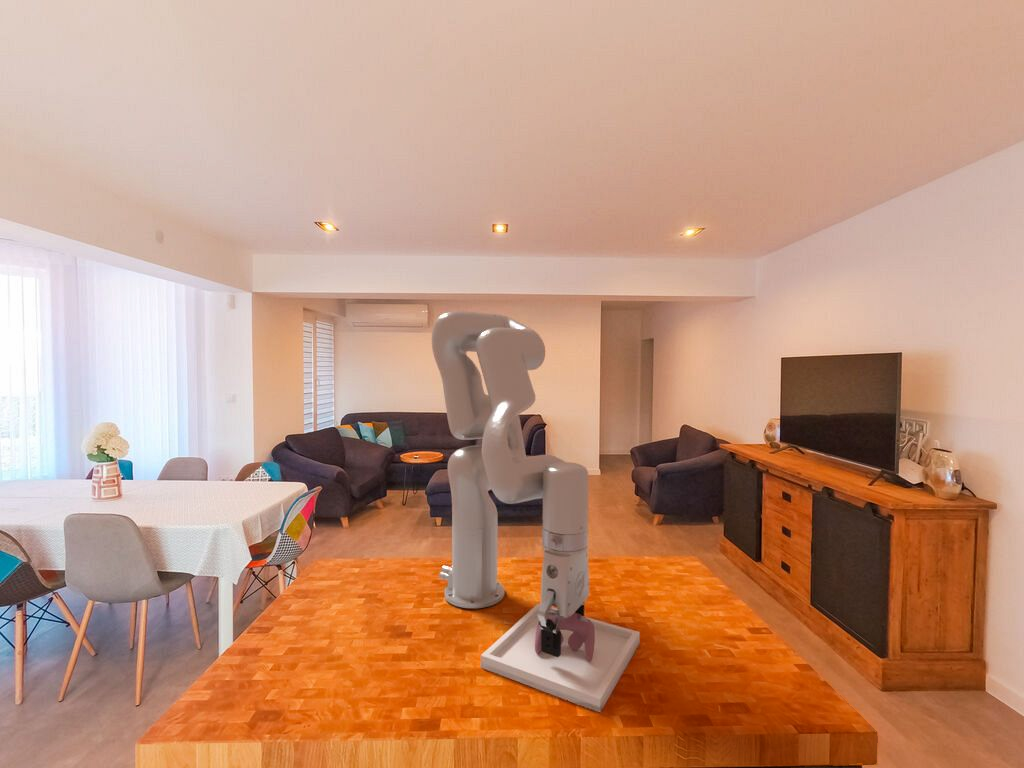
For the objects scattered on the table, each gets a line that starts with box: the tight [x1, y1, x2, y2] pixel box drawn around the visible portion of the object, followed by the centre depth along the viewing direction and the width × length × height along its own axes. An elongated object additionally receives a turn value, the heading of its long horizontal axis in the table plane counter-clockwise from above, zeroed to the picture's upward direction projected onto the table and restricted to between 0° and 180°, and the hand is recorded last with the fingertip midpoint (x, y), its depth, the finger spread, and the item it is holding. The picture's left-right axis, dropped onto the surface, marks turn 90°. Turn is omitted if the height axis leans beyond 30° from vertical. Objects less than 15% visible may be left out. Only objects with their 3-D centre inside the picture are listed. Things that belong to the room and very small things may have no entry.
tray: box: [480, 603, 641, 713], centre depth 81 cm, size 20×20×2 cm
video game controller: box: [535, 612, 595, 662], centre depth 81 cm, size 10×5×7 cm, turn 75°
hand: (563, 639), depth 81 cm, fingers open, 9 cm apart
